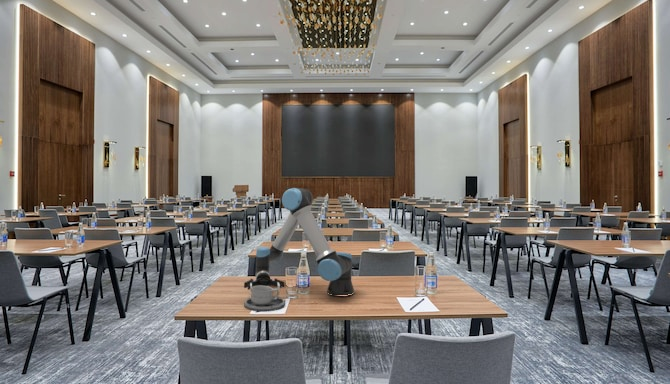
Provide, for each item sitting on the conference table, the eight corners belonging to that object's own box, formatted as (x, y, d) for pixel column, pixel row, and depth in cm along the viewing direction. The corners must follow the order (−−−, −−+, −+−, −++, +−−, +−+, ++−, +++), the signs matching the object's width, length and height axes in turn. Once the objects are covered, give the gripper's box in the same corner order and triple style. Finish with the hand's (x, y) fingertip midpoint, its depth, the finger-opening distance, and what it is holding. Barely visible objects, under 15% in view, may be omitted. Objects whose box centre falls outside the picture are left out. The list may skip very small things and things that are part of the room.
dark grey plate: (291, 302, 212) (291, 298, 212) (274, 313, 193) (274, 309, 193) (256, 298, 218) (256, 294, 218) (236, 308, 199) (236, 304, 199)
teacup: (249, 307, 196) (251, 290, 196) (249, 299, 207) (251, 283, 206) (278, 309, 199) (280, 292, 198) (277, 301, 209) (279, 285, 209)
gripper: (286, 285, 228) (290, 295, 207) (239, 286, 223) (239, 296, 202) (286, 271, 228) (290, 280, 207) (239, 272, 223) (239, 281, 202)
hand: (265, 288), depth 205 cm, fingers closed on teacup, 13 cm apart
